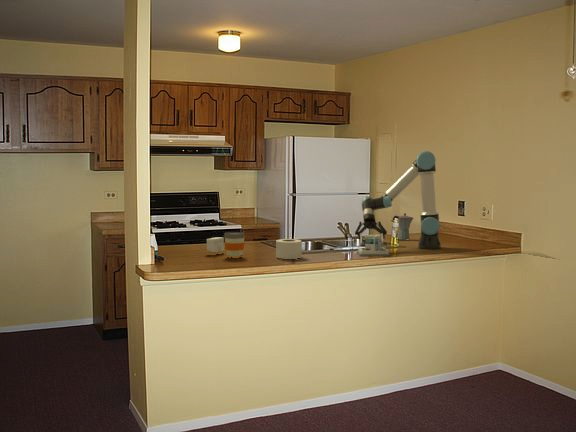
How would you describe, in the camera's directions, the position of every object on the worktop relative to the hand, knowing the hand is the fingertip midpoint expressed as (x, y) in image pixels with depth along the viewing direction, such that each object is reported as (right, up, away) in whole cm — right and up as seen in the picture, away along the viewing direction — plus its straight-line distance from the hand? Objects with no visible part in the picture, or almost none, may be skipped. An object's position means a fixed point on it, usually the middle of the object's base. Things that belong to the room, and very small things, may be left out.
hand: (372, 242), depth 397 cm
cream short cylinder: (-53, -9, -18) cm, 56 cm away
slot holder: (0, -7, -2) cm, 7 cm away
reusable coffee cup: (-86, -9, -15) cm, 88 cm away
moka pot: (+33, -1, +72) cm, 79 cm away
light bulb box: (0, -6, -2) cm, 6 cm away
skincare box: (-99, -8, -2) cm, 99 cm away
